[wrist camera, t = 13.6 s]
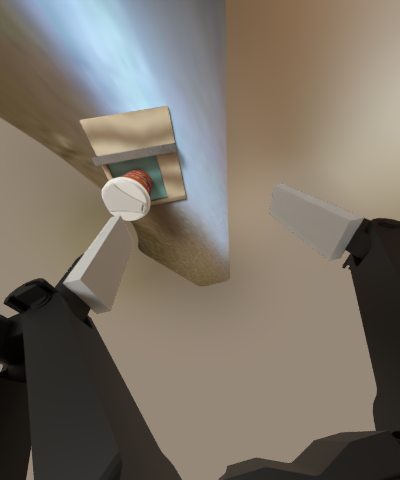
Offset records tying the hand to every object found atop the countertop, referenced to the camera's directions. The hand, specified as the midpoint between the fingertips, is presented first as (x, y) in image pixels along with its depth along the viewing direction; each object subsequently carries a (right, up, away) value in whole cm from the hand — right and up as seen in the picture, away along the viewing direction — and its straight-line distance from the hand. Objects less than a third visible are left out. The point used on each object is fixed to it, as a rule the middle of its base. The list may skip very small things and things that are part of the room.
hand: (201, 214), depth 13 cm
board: (-14, +16, +24) cm, 32 cm away
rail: (-15, +18, +21) cm, 32 cm away
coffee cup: (-16, +13, +26) cm, 33 cm away
